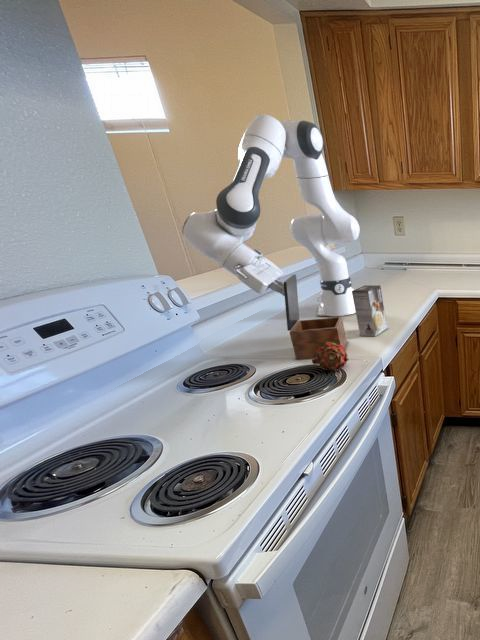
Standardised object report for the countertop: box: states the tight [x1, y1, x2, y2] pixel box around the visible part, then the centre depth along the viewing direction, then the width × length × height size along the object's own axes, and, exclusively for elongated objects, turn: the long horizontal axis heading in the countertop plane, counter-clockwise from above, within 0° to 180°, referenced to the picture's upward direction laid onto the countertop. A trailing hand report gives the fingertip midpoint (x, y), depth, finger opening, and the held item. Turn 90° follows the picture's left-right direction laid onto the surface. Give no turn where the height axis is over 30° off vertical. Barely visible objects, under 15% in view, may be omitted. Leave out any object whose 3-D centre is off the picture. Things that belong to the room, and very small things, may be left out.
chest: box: [289, 316, 348, 360], centre depth 133 cm, size 14×13×9 cm
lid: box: [282, 273, 300, 332], centre depth 127 cm, size 14×13×1 cm
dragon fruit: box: [311, 342, 350, 372], centre depth 118 cm, size 8×8×12 cm
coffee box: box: [352, 284, 388, 337], centre depth 147 cm, size 9×6×16 cm
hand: (287, 293), depth 126 cm, fingers closed, pressing on lid
